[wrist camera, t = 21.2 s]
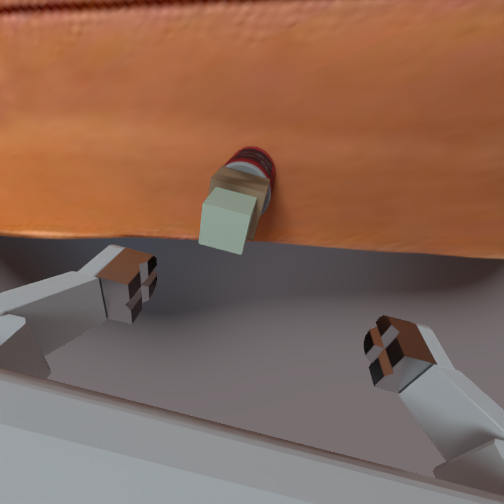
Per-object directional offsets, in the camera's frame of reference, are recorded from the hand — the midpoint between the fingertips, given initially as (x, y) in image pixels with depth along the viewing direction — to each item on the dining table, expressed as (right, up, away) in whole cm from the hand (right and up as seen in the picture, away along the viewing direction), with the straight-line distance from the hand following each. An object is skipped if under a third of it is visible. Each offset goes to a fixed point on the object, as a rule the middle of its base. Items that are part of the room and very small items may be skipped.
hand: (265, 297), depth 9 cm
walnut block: (-2, +9, +23) cm, 24 cm away
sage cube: (-3, +6, +18) cm, 20 cm away
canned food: (0, +15, +32) cm, 35 cm away
